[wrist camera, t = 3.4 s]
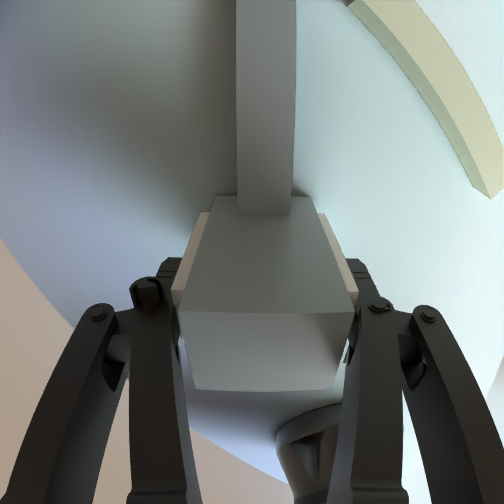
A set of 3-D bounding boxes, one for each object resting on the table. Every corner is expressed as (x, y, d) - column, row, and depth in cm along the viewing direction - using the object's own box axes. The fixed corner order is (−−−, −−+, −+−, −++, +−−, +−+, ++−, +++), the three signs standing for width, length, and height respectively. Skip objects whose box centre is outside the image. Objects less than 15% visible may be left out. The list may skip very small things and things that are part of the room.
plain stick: (491, 164, 14) (513, 176, 12) (469, 184, 15) (491, 199, 13) (374, -13, 10) (391, -24, 8) (344, 8, 11) (359, -3, 9)
